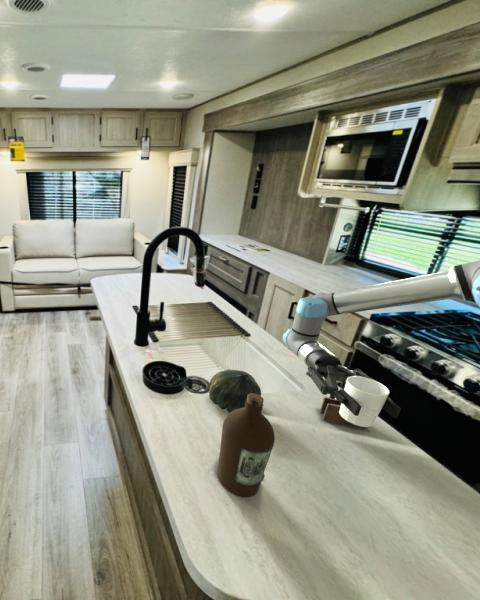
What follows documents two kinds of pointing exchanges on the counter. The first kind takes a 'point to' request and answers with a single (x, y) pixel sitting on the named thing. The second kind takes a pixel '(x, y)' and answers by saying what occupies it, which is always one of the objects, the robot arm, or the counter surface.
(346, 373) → the robot arm
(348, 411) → the white cup
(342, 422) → the holder
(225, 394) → the squash
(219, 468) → the olive oil
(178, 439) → the counter surface
